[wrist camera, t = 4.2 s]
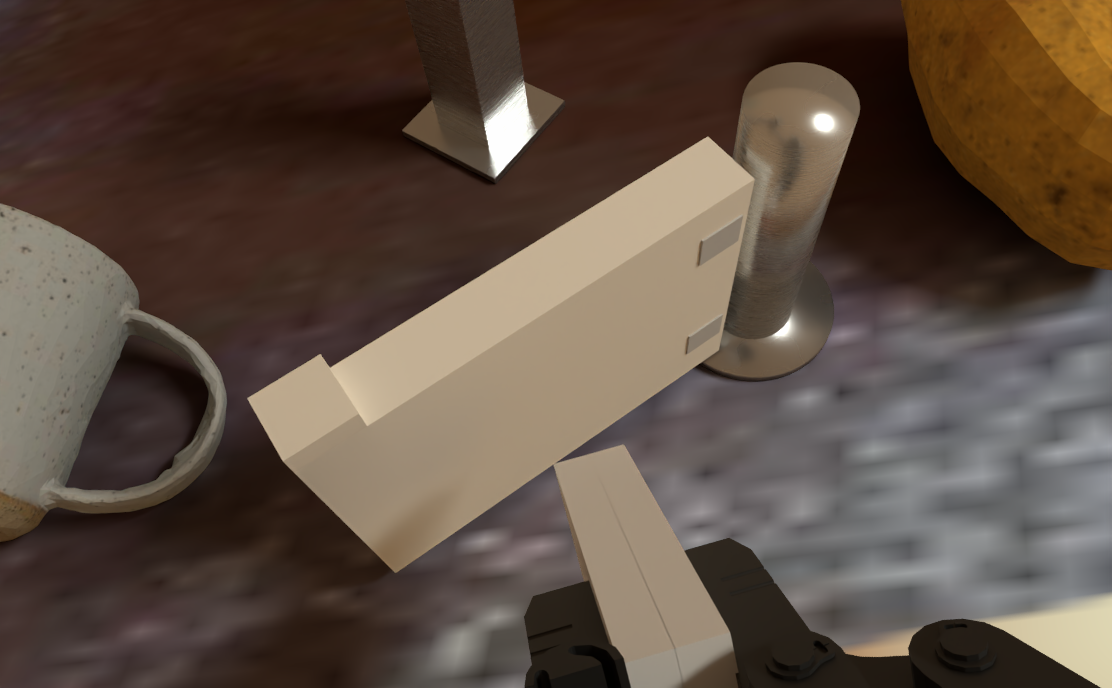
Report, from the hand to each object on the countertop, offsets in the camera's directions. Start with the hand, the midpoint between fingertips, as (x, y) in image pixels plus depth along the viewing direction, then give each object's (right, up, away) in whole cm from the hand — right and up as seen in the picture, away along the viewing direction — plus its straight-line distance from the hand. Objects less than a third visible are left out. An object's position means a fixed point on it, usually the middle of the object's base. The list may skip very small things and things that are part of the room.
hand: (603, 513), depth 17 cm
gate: (-1, +1, +7) cm, 7 cm away
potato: (+15, +10, +12) cm, 22 cm away
